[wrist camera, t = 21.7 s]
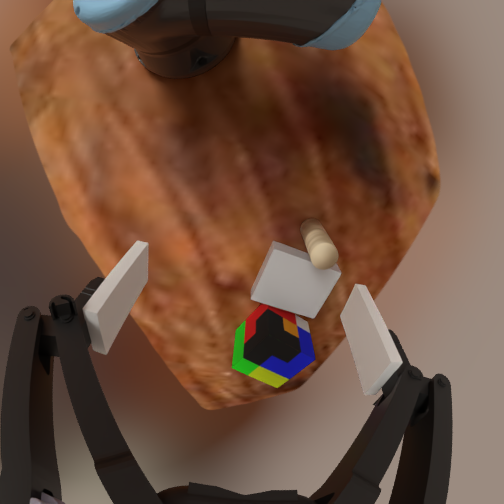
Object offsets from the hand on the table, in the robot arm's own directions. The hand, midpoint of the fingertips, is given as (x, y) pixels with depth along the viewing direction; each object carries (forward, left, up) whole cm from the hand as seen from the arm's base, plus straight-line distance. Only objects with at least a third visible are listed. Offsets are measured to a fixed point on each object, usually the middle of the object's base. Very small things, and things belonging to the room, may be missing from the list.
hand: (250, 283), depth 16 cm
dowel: (+4, +10, -26) cm, 29 cm away
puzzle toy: (+25, +10, -27) cm, 38 cm away
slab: (+13, +11, -27) cm, 32 cm away
